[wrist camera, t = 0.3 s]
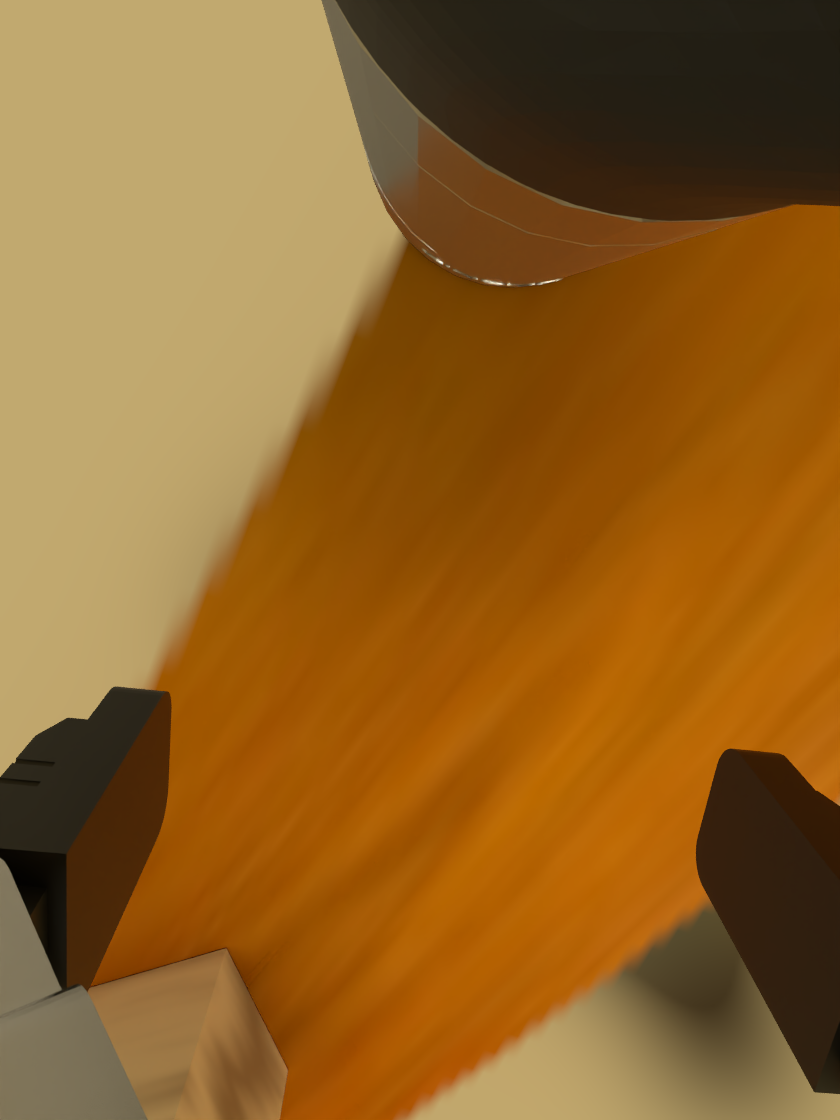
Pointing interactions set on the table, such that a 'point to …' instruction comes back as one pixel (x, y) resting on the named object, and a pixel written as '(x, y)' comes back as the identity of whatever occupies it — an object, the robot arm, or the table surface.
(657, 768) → the table surface
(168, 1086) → the tall patterned tan block
